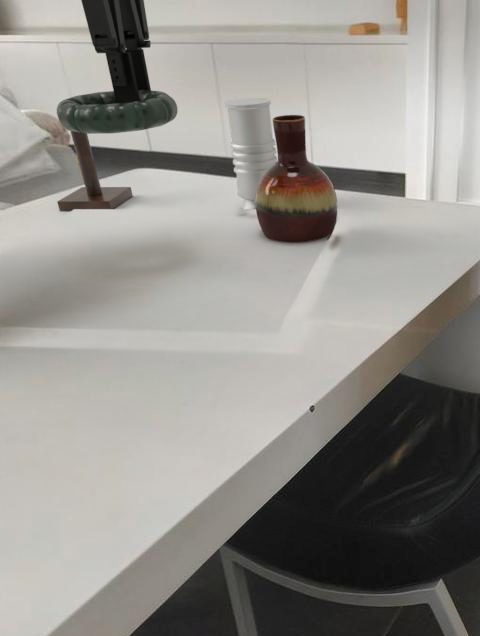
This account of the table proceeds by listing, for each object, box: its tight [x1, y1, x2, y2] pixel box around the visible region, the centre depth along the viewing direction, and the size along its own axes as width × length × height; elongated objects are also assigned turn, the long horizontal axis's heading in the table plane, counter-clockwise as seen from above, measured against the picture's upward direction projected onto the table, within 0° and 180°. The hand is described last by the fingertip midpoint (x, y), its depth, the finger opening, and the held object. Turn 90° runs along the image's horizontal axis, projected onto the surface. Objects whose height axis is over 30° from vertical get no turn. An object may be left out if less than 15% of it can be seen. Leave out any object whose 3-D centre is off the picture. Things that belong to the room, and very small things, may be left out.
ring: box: [56, 89, 179, 135], centre depth 79 cm, size 13×13×3 cm
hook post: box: [56, 131, 133, 212], centre depth 112 cm, size 9×9×14 cm
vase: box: [255, 114, 338, 243], centre depth 91 cm, size 11×11×15 cm
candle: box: [224, 97, 278, 210], centre depth 106 cm, size 7×7×15 cm
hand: (137, 113), depth 84 cm, fingers closed on ring, 3 cm apart
